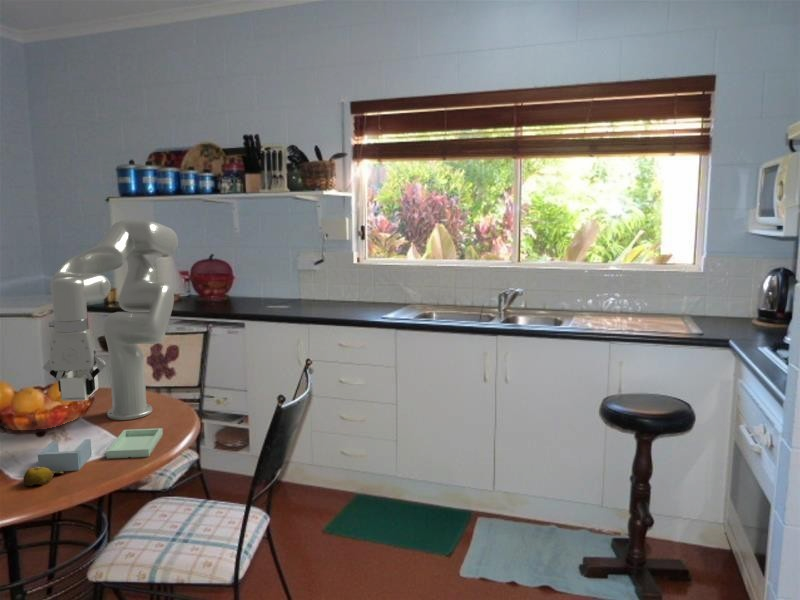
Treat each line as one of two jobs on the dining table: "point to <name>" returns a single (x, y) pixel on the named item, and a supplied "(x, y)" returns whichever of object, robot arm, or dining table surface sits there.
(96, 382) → the box
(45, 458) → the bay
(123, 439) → the tray
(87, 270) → the robot arm
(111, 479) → the dining table surface
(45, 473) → the fruit
